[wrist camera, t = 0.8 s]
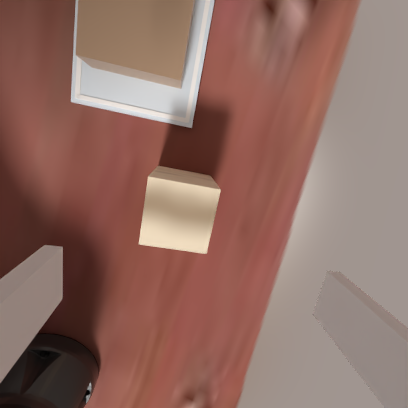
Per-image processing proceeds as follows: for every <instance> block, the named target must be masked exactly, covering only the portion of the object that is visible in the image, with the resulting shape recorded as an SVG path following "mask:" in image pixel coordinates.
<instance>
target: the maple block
mask: <svg viewBox="0 0 408 408" xmlns="http://www.w3.org/2000/svg"><path fill="white" fill-rule="evenodd" d="M220 191H221V189H220V188H219V187H218V185H217V184H216V182H215V181H214V180H213V178H212V177H211V176H210V175H205V174H200V173H195V172H189V171H184V170H179V169H174V168H168V167H163V166H157V167H156V169H155V170H154V171H153V172H152V173H151V174H150V175H149V176H148V182H147V189H146V196H145V203H144V210H143V217H142V225H141V232H140V239H139V244H140V245H147V246H154V247H162V248H169V249H176V250H183V251H190V252H197V253H204V254H206V253H207V249H208V245H209V240H210V236H211V231H212V227H213V222H214V218H215V213H216V209H217V205H218V200H219V196H220Z"/></svg>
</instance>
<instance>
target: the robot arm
mask: <svg viewBox="0 0 408 408" xmlns="http://www.w3.org/2000/svg"><path fill="white" fill-rule="evenodd" d="M62 299H63V247H61V246H50V245H44V246H43V247H41V248H40V249H39V250H37V251H36V252H35V253H33V254H32V255H31V256H30V257H28V258H27V259H26V260H24V261H23V262H22V263H21V264H19V265H18V266H17V267H15V268H14V269H13V270H12V271H10V272H9V273H8V274H6V275H5V276H4V277H2V278H1V279H0V408H84V406H85V405H86V403H87V402H88V400H89V399H90V397H91V395H92V393H93V390H94V387H95V384H96V382H97V379H98V365H97V362H96V360H95V358H94V356H93V355H92V354H91V352H90V351H89V350H88V349H87V348H85V347H84V346H83V345H81V344H80V343H78V342H76V341H74V340H72V339H70V338H67V337H64V336H60V335H54V334H37V333H38V332H39V330H40V329H41V327H42V326H43V325H44V323H45V322H46V321H47V319H48V318H49V317H50V315H51V314H52V313H53V311H54V310H55V309H56V307H57V306H58V304H59V303H60V302H61V300H62ZM313 315H314V317H315V318H316V319H317V321H318V322H319V323H320V325H321V326H322V327H323V328H324V330H325V331H326V332H327V334H328V335H329V336H330V338H331V339H332V340H333V341H334V343H335V344H336V345H337V347H338V348H339V349H340V350H341V352H342V353H343V355H344V356H345V357H346V358H347V360H348V361H349V362H350V364H351V365H352V366H353V368H354V369H355V370H356V371H357V373H358V374H359V375H360V377H361V378H362V379H363V381H364V382H365V383H366V385H367V386H368V387H369V388H370V390H371V391H372V392H373V393H374V395H375V396H376V397H377V399H378V400H379V401H380V403H381V404H382V405H383V407H384V408H408V328H407V327H406V326H405V325H404V324H403V323H401V322H400V321H399V320H398V319H396V318H395V317H394V316H393V315H392V314H390V313H389V312H388V311H387V310H385V309H384V308H383V307H382V306H381V305H379V304H378V303H377V302H376V301H374V300H373V299H372V298H371V297H370V296H368V295H367V294H366V293H365V292H363V291H362V290H361V289H360V288H358V287H357V286H356V285H355V284H354V283H353V282H351V281H350V280H349V279H347V278H346V277H345V276H344V275H343V274H341V273H340V272H333V271H327V272H326V276H325V279H324V282H323V285H322V288H321V291H320V294H319V297H318V300H317V303H316V306H315V309H314V312H313ZM36 334H37V335H36Z"/></svg>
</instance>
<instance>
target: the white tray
mask: <svg viewBox="0 0 408 408" xmlns="http://www.w3.org/2000/svg"><path fill="white" fill-rule="evenodd" d="M214 1H215V0H76V5H75V26H74V47H73V67H72V88H71V102H73V103H77V104H82V105H87V106H91V107H96V108H100V109H105V110H110V111H114V112H119V113H123V114H128V115H133V116H137V117H142V118H147V119H151V120H156V121H160V122H165V123H170V124H174V125H179V126H183V127H188V128H192V124H193V118H194V113H195V107H196V101H197V96H198V90H199V85H200V79H201V73H202V68H203V62H204V57H205V51H206V46H207V40H208V34H209V29H210V23H211V18H212V12H213V6H214Z"/></svg>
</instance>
